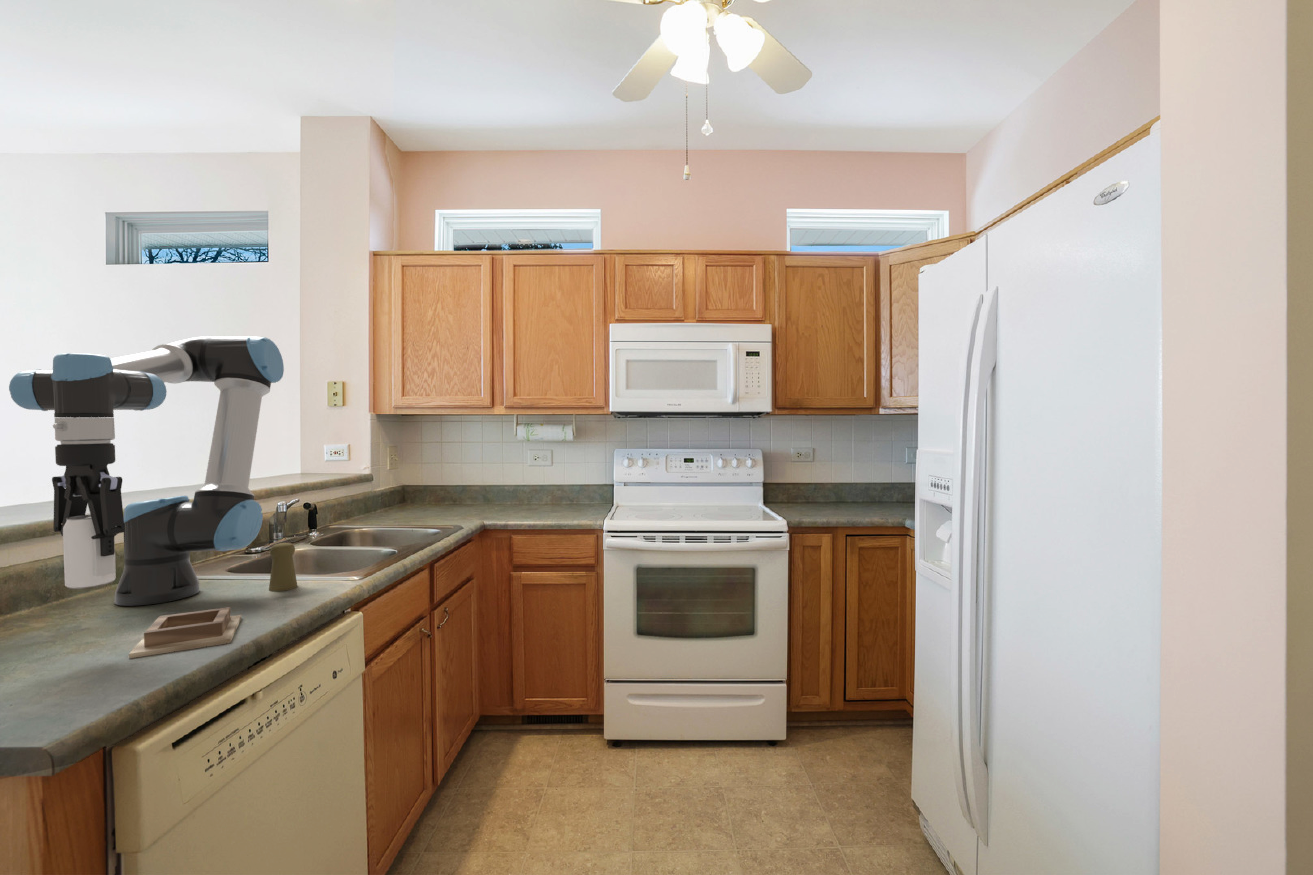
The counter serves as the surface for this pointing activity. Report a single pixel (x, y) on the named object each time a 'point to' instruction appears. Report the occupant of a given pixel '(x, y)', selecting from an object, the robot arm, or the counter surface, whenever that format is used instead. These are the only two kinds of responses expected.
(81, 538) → the can
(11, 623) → the counter surface
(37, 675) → the counter surface
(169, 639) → the keeper board
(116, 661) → the counter surface
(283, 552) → the cork
